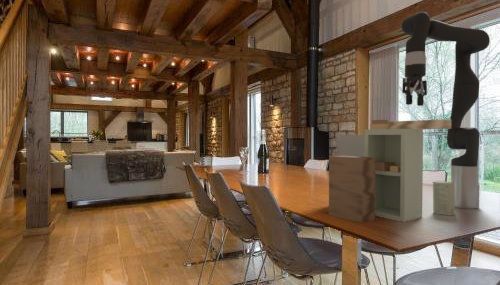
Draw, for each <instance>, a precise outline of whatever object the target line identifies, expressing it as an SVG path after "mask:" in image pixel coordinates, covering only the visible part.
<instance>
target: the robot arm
mask: <svg viewBox="0 0 500 285" xmlns="http://www.w3.org/2000/svg"><path fill="white" fill-rule="evenodd" d="M401 29H402V32H403V33H405V34H406V35H408V36H410V38H409V39H407V41H406V42H405V58H404V77H403V79H402V88H401V90H402V94H404V95H405V105H408V106H410V105H413V93H416V95H417V97H416V98H417V100H416V103H417V104H416V105H417V106H418V107H420V106H421V107H422V106H424V97H425V96H427V94H428V89H427V88H428V87H427V86H428V82H427V80H423V77H425V76H426V75H427V73H426V72H427V67H426V66H427V57H426V42H427V39H431V40H435V41H438V42H455V46H454V50H455V51H454V52H455V53H454V54H455V57H454V58H455V59H454V60H455V65H454V66H455V67H454V68H455V71H454V80H453V88H452V89H453V90H452V100H451V101H452V104H451V112H450V113H451V114H450V117H449V118H450V119H449V120H451V129H447V133H446V134H447V135H446V143H447V144H446V145H447V146H448V148H449V149H451V150H465V153H463V154H462V155H460V156H457V157H453V158H452V159H451V161H450V162H451V164H450V166H451V167H450V182H454V204H455V208H458V209H459V208H460V209H469V210H470V209H478V208H480V184H478V162H479V151H480V149H479V148H480V132H479V130H478V129H477V127H462V123H463V120H464V118H465V116H466V114H468V112H469V111H470V109H472V107H473V106H474V105H475V103H476V102H477V100H478V99H479V94H480V93H479V92H480V81H479V78H478V76H477V75H476V74H475V72H474V70H473V69H472V67H471V56H472V55H473V54H476V53H479V52H482V51H485V50H486V49H487V48H488V47H489V46H490V42H491V38H490V35H489V34H488V32H487V31H485V30H483V29H478V28H470V27H465V26H464V27H463V26H457V25H452V24H449V23H445V22H442V21H440V20H436V19H431V18H430V16H429V14H428V13H427V12H425V11H420V12H419V11H418V12H417V13H415V14H413V15H410V16H408V17H406V18H405V19H404V20H403V21H402V24H401Z"/></svg>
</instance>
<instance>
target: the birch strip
mask: <svg viewBox="0 0 500 285" xmlns="http://www.w3.org/2000/svg"><path fill="white" fill-rule="evenodd" d="M388 129H423V130H448V129H451V120H450V119H446V118H444V119H443V118H442V119H423V120H422V119H421V120H417V119H416V120H401V121H400V120H397V121H388Z"/></svg>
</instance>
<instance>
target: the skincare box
mask: <svg viewBox="0 0 500 285" xmlns="http://www.w3.org/2000/svg"><path fill="white" fill-rule="evenodd" d="M432 205H433V206H432V207H433V208H432V210H433V214H438V215H443V216H452V215H455V213H456V212H455V210H456V207H455V204H454V182H451V181H444V180H441V181H440V180H436V181H432Z"/></svg>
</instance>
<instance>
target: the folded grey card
mask: <svg viewBox="0 0 500 285" xmlns="http://www.w3.org/2000/svg"><path fill="white" fill-rule="evenodd" d="M364 149H365V134H339V135H338V134H337V135H336V156H343V155H344V156H361V157H364Z"/></svg>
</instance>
